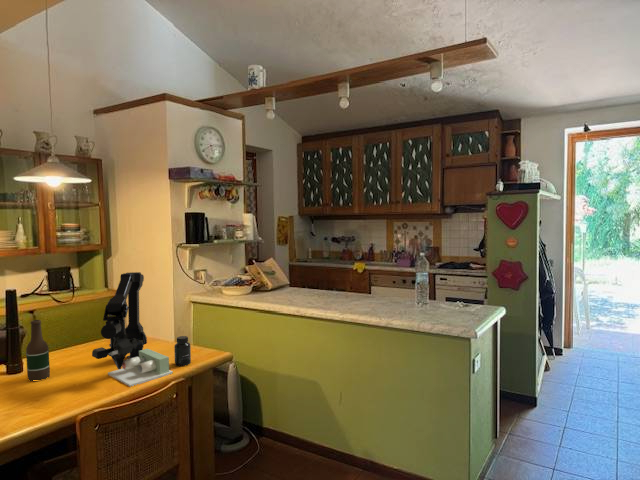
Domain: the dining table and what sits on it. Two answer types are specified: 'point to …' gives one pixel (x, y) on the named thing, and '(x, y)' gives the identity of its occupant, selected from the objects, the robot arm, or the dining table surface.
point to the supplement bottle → (182, 351)
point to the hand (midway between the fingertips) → (119, 369)
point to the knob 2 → (147, 366)
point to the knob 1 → (132, 362)
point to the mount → (135, 377)
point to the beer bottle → (37, 354)
